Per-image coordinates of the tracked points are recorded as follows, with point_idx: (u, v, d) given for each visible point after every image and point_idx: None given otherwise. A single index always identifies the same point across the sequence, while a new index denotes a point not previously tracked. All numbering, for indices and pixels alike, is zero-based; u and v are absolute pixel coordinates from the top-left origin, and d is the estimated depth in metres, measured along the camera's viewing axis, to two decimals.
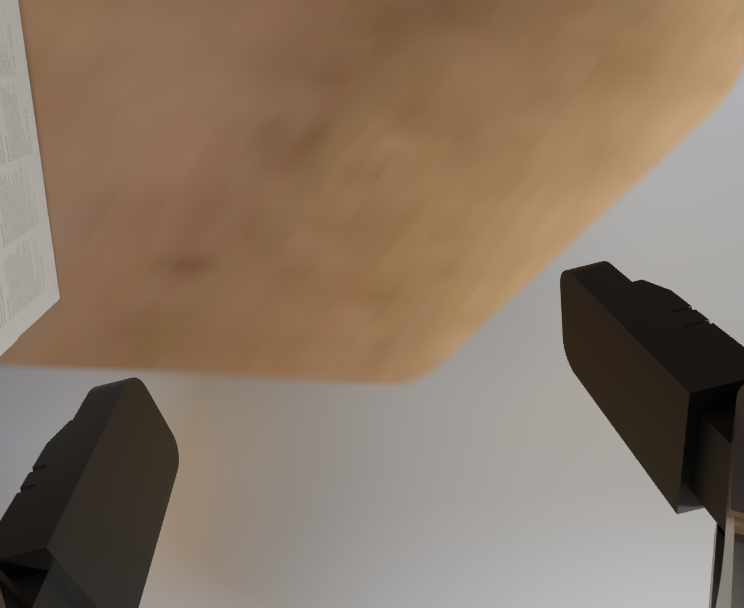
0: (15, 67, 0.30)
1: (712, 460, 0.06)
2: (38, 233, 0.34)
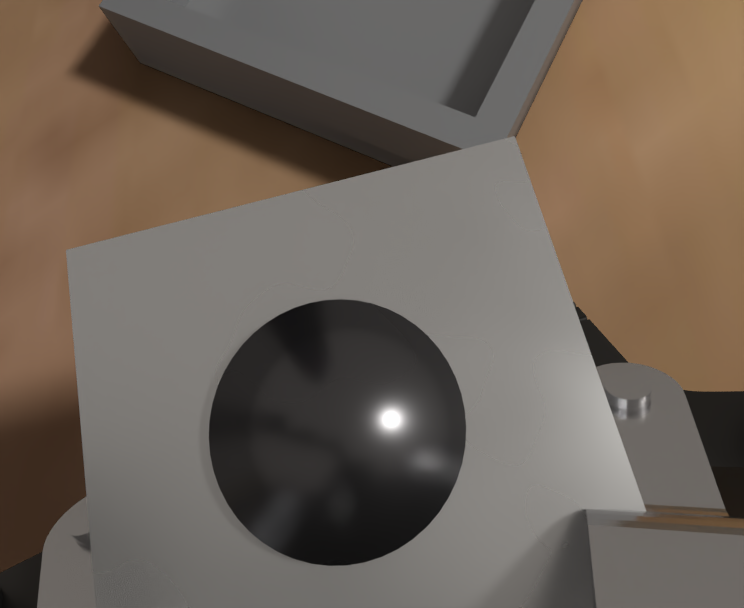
0: None
1: None
2: None
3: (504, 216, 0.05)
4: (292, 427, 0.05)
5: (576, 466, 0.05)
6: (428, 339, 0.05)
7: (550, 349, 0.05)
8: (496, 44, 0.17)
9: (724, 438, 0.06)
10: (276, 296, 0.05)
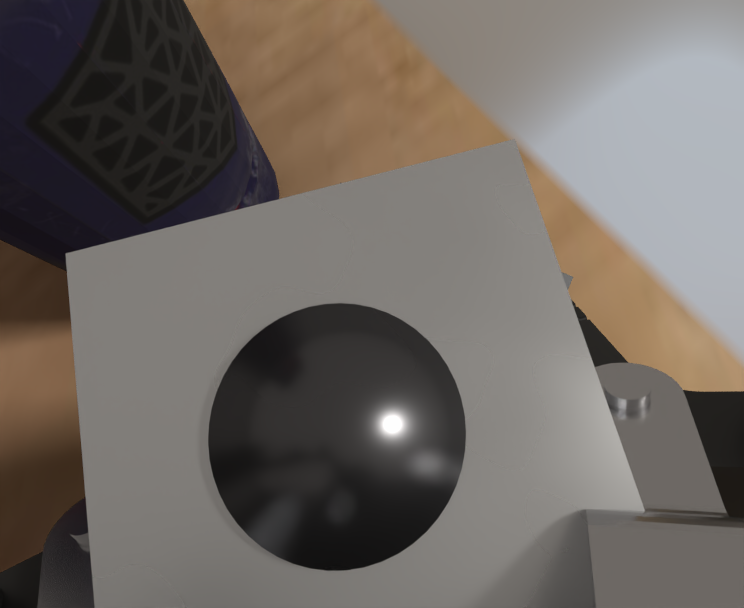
0: None
1: None
2: None
3: (504, 220, 0.05)
4: (292, 432, 0.05)
5: (578, 471, 0.05)
6: (428, 343, 0.05)
7: (550, 353, 0.05)
8: None
9: (724, 438, 0.06)
10: (276, 301, 0.05)
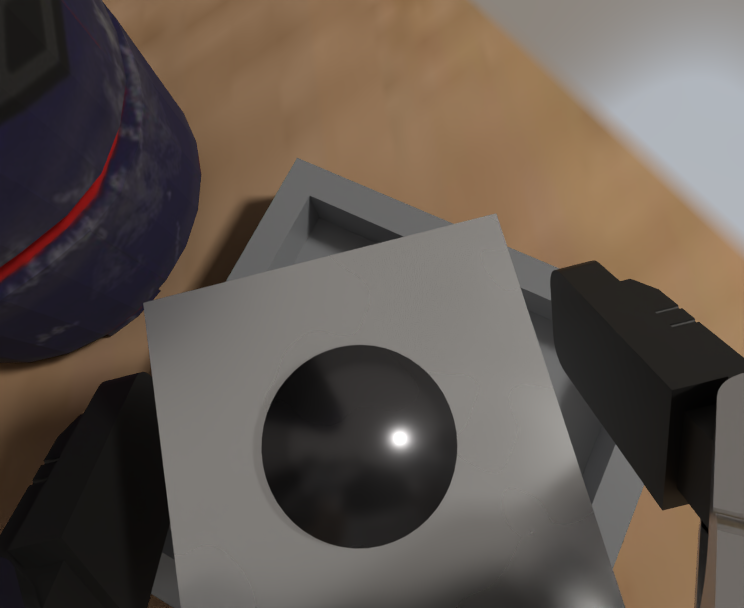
0: None
1: (695, 456, 0.06)
2: None
3: (487, 278, 0.07)
4: (325, 444, 0.06)
5: (540, 473, 0.06)
6: (428, 376, 0.07)
7: (522, 384, 0.07)
8: None
9: None
10: (309, 341, 0.07)
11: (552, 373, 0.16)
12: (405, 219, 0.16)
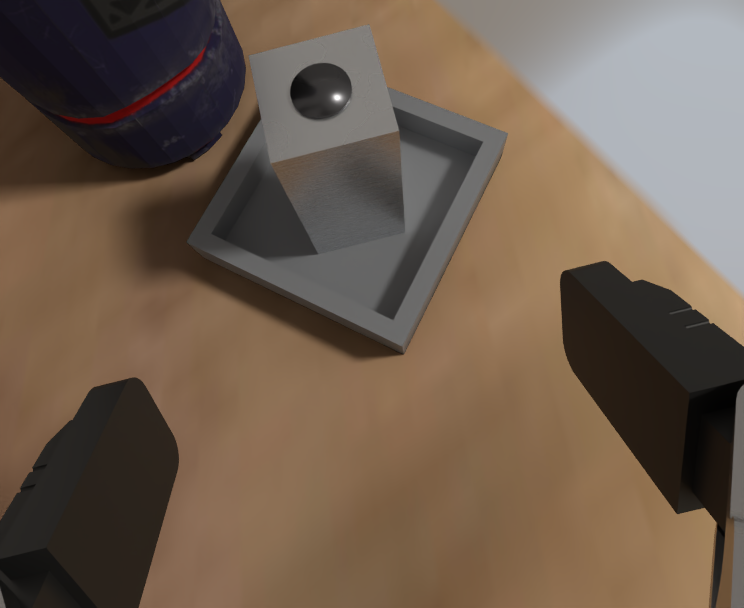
0: None
1: (712, 460, 0.06)
2: None
3: (364, 44, 0.21)
4: (310, 90, 0.20)
5: (377, 97, 0.20)
6: (343, 71, 0.21)
7: (373, 73, 0.21)
8: (412, 261, 0.29)
9: None
10: (305, 64, 0.21)
11: (438, 167, 0.30)
12: None
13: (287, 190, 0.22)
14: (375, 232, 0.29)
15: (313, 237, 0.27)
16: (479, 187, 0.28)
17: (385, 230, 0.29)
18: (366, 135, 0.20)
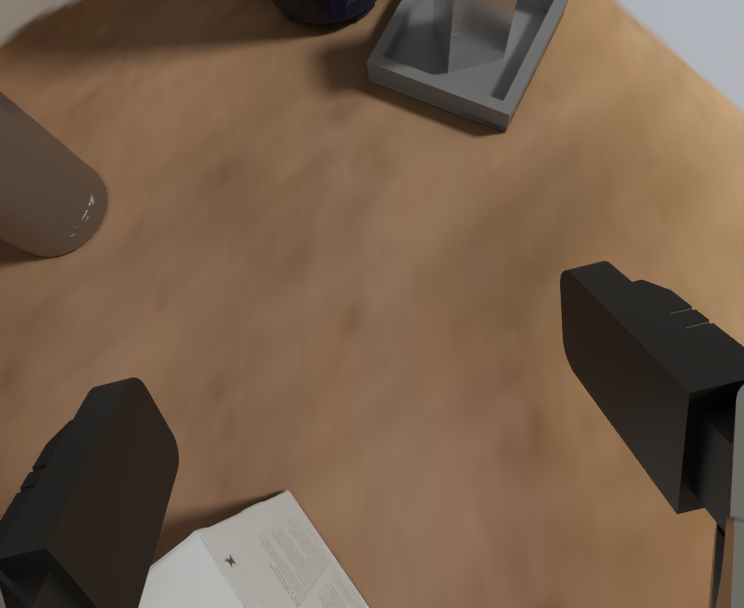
0: (327, 556, 0.36)
1: (712, 460, 0.06)
2: None
3: None
4: None
5: None
6: None
7: None
8: (509, 75, 0.45)
9: None
10: None
11: (523, 19, 0.47)
12: None
13: (455, 1, 0.38)
14: (486, 55, 0.45)
15: (451, 53, 0.44)
16: (553, 24, 0.44)
17: (493, 53, 0.45)
18: None
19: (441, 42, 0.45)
